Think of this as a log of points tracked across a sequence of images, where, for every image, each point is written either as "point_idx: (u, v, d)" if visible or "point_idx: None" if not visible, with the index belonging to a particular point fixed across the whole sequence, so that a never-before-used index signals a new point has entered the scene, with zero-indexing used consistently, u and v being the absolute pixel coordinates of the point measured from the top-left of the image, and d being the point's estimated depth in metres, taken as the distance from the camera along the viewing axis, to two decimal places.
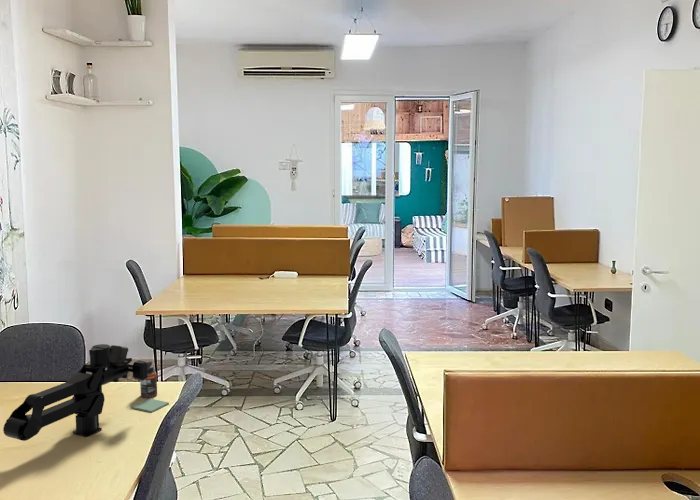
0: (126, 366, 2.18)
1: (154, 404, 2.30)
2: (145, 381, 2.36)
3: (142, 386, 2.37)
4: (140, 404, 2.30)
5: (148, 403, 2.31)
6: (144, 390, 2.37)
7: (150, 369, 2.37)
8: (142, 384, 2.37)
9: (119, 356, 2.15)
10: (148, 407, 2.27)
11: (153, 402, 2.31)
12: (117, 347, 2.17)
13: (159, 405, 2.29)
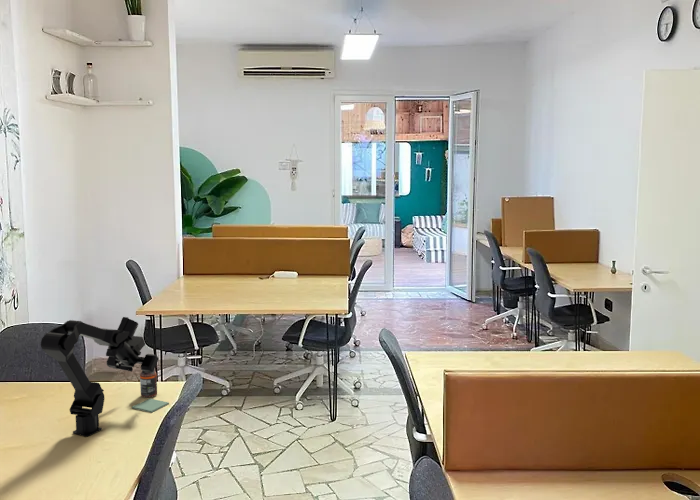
0: (137, 356, 2.28)
1: (154, 404, 2.30)
2: (145, 381, 2.36)
3: (142, 386, 2.37)
4: (140, 404, 2.30)
5: (148, 403, 2.31)
6: (144, 390, 2.37)
7: None
8: (142, 384, 2.37)
9: (138, 342, 2.28)
10: (148, 407, 2.27)
11: (153, 402, 2.31)
12: (138, 337, 2.31)
13: (159, 405, 2.29)
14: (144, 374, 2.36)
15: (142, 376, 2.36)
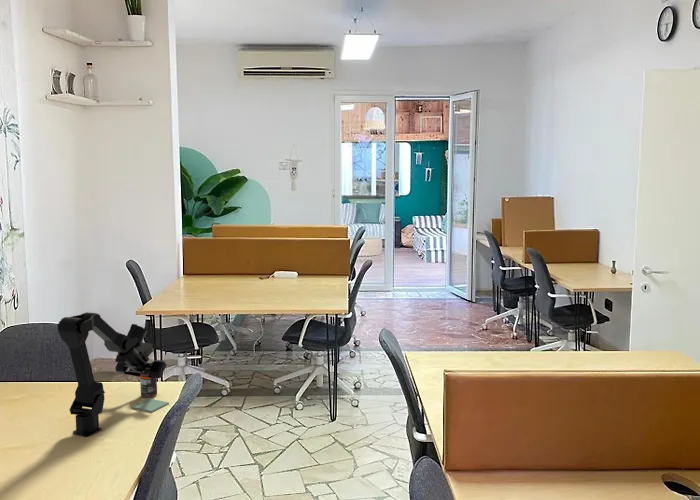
0: (146, 362, 2.33)
1: (154, 404, 2.30)
2: (145, 381, 2.36)
3: (142, 386, 2.37)
4: (140, 404, 2.30)
5: (148, 403, 2.31)
6: (144, 390, 2.37)
7: None
8: (142, 384, 2.37)
9: (146, 349, 2.34)
10: (148, 407, 2.27)
11: (153, 402, 2.31)
12: (146, 343, 2.36)
13: (159, 405, 2.29)
14: (144, 374, 2.36)
15: (142, 376, 2.36)
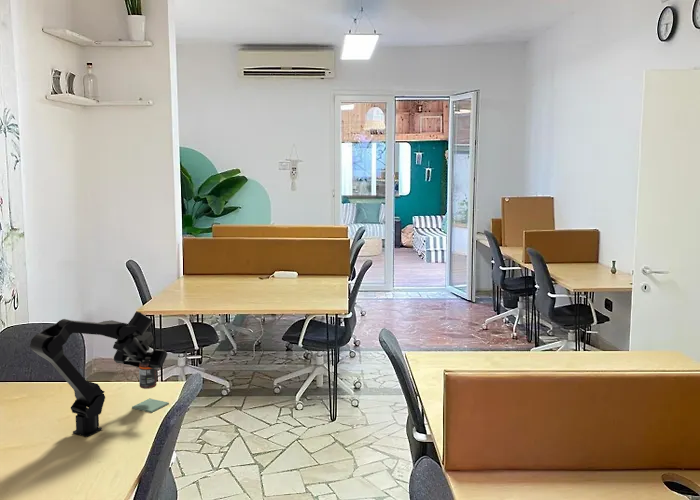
0: (146, 351, 2.25)
1: (154, 404, 2.30)
2: (144, 371, 2.28)
3: (141, 377, 2.28)
4: (140, 404, 2.30)
5: (148, 403, 2.31)
6: (143, 380, 2.28)
7: None
8: (141, 374, 2.28)
9: (146, 338, 2.25)
10: (148, 407, 2.27)
11: (153, 402, 2.31)
12: (146, 332, 2.28)
13: (159, 405, 2.29)
14: (144, 364, 2.28)
15: (141, 366, 2.28)
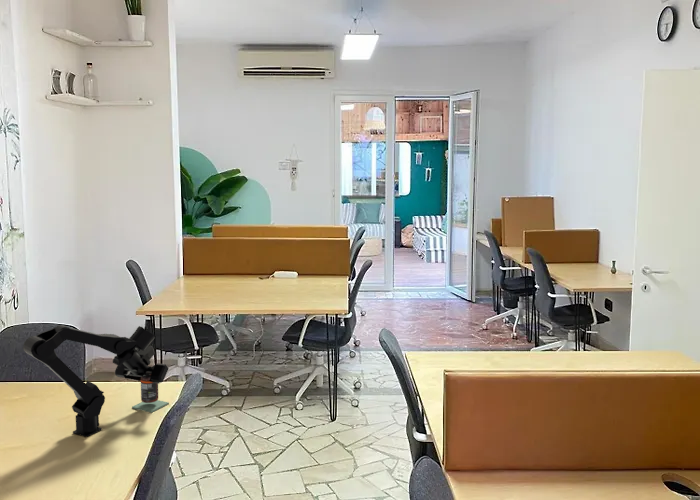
0: (147, 365, 2.22)
1: (154, 404, 2.30)
2: (146, 385, 2.25)
3: (143, 391, 2.26)
4: (140, 404, 2.30)
5: (148, 403, 2.31)
6: (144, 394, 2.26)
7: None
8: (143, 388, 2.26)
9: (147, 352, 2.23)
10: (148, 407, 2.27)
11: (153, 402, 2.31)
12: (147, 346, 2.25)
13: (159, 405, 2.29)
14: (145, 378, 2.25)
15: (143, 380, 2.25)
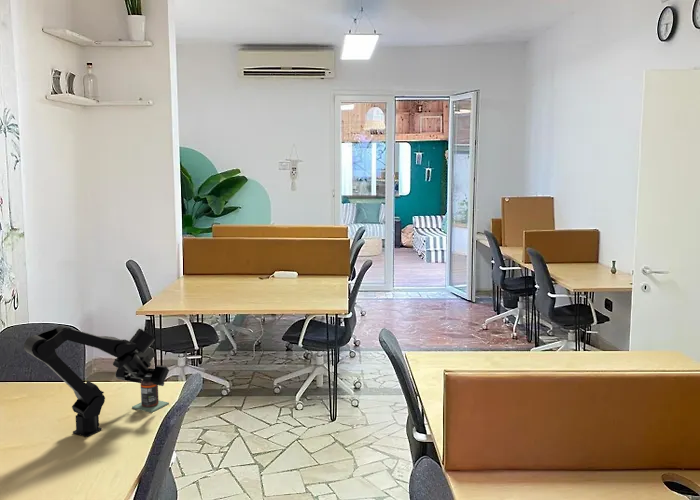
0: (147, 368, 2.22)
1: None
2: (146, 390, 2.26)
3: (143, 395, 2.26)
4: (140, 404, 2.30)
5: None
6: (144, 399, 2.26)
7: None
8: (143, 393, 2.26)
9: (147, 354, 2.23)
10: (148, 407, 2.27)
11: None
12: (147, 348, 2.26)
13: (159, 405, 2.29)
14: (145, 382, 2.26)
15: (143, 385, 2.26)
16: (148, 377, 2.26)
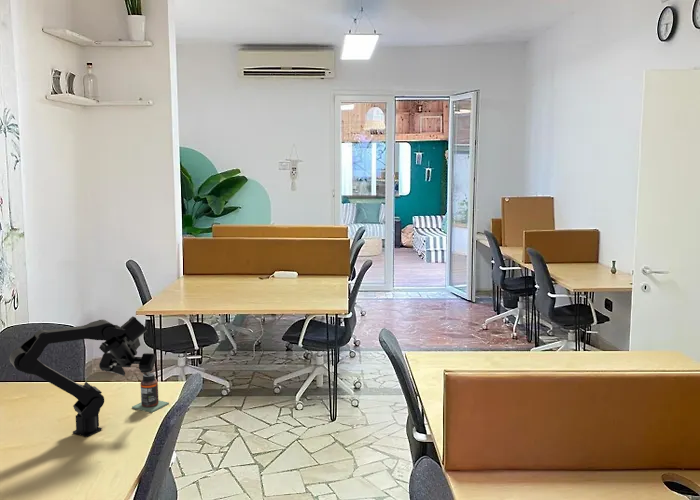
0: (134, 356, 2.17)
1: None
2: (146, 390, 2.26)
3: (143, 395, 2.26)
4: (140, 404, 2.30)
5: None
6: (144, 399, 2.26)
7: (151, 377, 2.26)
8: (143, 393, 2.26)
9: (134, 342, 2.18)
10: (148, 407, 2.27)
11: None
12: None
13: (159, 405, 2.29)
14: (145, 382, 2.26)
15: (143, 385, 2.26)
16: (148, 377, 2.26)
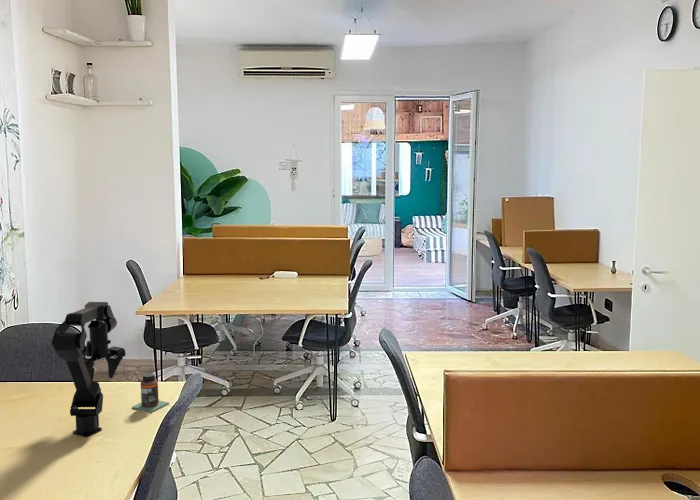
0: None
1: None
2: (146, 390, 2.26)
3: (143, 395, 2.26)
4: (140, 404, 2.30)
5: None
6: (144, 399, 2.26)
7: (151, 377, 2.26)
8: (143, 393, 2.26)
9: None
10: (148, 407, 2.27)
11: None
12: None
13: (159, 405, 2.29)
14: (145, 382, 2.26)
15: (143, 385, 2.26)
16: (148, 377, 2.26)
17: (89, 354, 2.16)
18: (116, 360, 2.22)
